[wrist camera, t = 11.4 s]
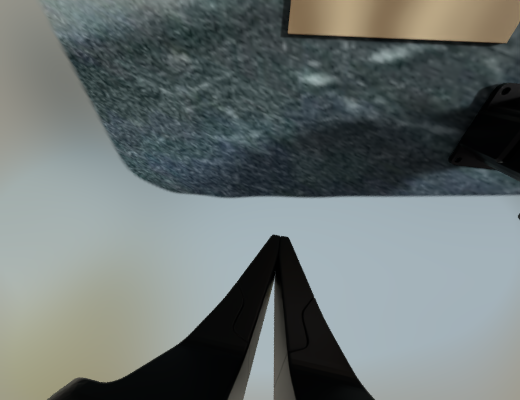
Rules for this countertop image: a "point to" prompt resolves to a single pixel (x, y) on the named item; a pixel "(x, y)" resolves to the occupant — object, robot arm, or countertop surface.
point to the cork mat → (407, 19)
